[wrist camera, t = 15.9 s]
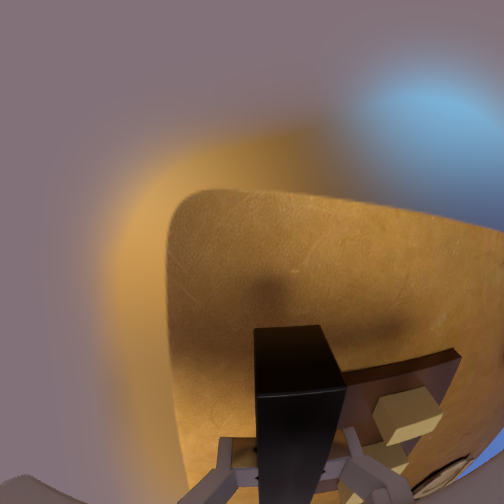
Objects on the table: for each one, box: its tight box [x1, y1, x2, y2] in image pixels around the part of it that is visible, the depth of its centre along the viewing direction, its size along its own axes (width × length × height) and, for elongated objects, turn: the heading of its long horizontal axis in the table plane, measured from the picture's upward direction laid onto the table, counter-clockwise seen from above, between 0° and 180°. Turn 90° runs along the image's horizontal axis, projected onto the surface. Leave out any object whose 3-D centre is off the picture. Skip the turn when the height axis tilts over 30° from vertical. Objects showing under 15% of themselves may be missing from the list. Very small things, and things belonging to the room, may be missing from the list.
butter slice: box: [372, 386, 444, 446], centre depth 15 cm, size 4×2×4 cm, turn 89°
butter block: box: [337, 441, 409, 504], centre depth 18 cm, size 4×9×4 cm, turn 2°
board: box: [314, 349, 462, 494], centre depth 19 cm, size 12×20×2 cm, turn 2°
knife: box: [253, 325, 348, 504], centre depth 10 cm, size 22×2×4 cm, turn 2°
